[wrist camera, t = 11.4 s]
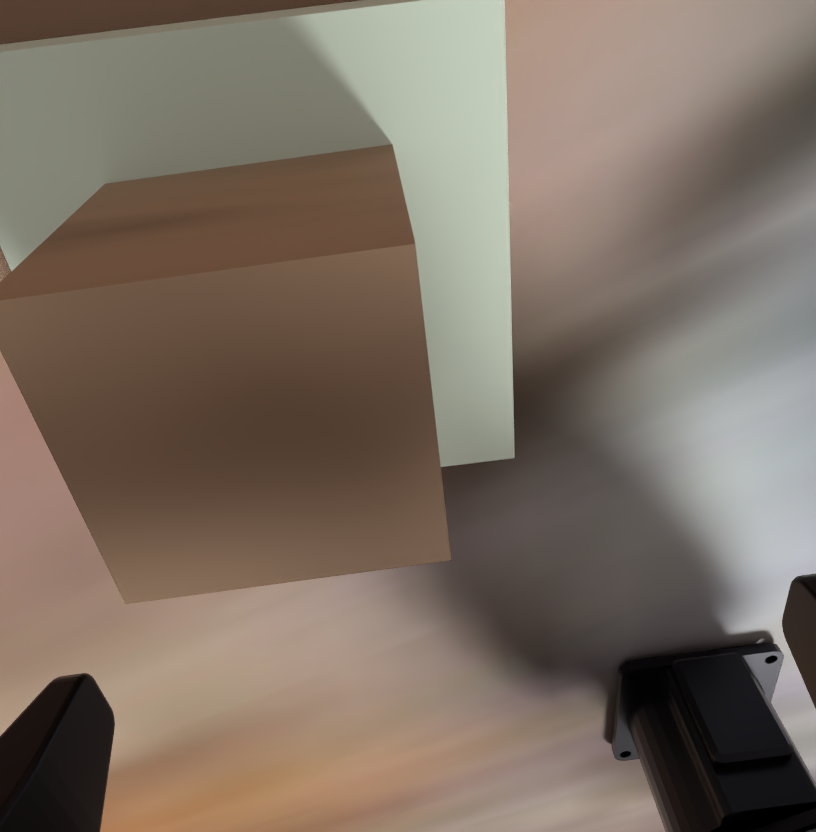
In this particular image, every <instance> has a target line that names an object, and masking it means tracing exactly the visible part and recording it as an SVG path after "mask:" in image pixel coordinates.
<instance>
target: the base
mask: <svg viewBox="0 0 816 832" xmlns="http://www.w3.org/2000/svg"><path fill="white" fill-rule="evenodd" d="M391 144H393V149H394V153H395V157H396V162H397V166H398V170H399V175H400V179H401V183H402V188H403V192H404V197H405V201H406V205H407V210H408V214H409V218H410V223H411V227H412V231H413V236H414V240H415V245H416V254H417V263H418V271H419V280H420V289H421V298H422V307H423V315H424V324H425V333H426V342H427V351H428V360H429V368H430V377H431V386H432V395H433V404H434V412H435V421H436V430H437V439H438V448H439V456H440V465H441V467H446V466H454V465H462V464H470V463H478V462H486V461H494V460H502V459H511V458H515V451H514V406H513V361H512V316H511V270H510V225H509V180H508V135H507V90H506V45H505V0H360V1H352V2H344V3H336V4H327V5H319V6H311V7H303V8H295V9H287V10H278V11H270V12H262V13H254V14H246V15H238V16H229V17H221V18H213V19H205V20H197V21H189V22H180V23H172V24H164V25H156V26H148V27H139V28H131V29H123V30H115V31H107V32H99V33H90V34H82V35H74V36H66V37H58V38H50V39H41V40H33V41H25V42H17V43H9V44H1V45H0V247H1V249H2V251H3V253H4V256H5V258H6V260H7V263H8V265H9V267H10V269H11V272H12V271H13V270H14V269H15V268H16V267H17V266H18V265H19V264H20V263H21V262H22V261H23V260H24V259H25V258H26V257H27V256H29V255H30V254H31V253H32V252H33V251H34V250H35V249H36V248H37V247H38V246H39V245H40V244H41V243H42V242H43V241H45V240H46V239H47V238H48V237H49V236H50V235H51V234H52V233H53V232H54V231H55V230H56V229H57V228H58V227H59V226H61V225H62V224H63V223H64V222H65V221H66V220H67V219H68V218H69V217H70V216H71V215H72V214H73V213H74V212H75V211H76V210H78V209H79V208H80V207H81V206H82V205H83V204H84V203H85V202H86V201H87V200H88V199H89V198H90V197H91V196H92V195H94V194H95V193H96V192H97V191H98V190H99V189H100V188H101V187H102V186H103V185H104V184H107V183H114V182H121V181H129V180H136V179H143V178H150V177H158V176H165V175H172V174H179V173H187V172H194V171H201V170H209V169H216V168H223V167H230V166H238V165H245V164H252V163H259V162H267V161H274V160H281V159H289V158H296V157H303V156H310V155H318V154H325V153H332V152H340V151H347V150H354V149H361V148H369V147H376V146H383V145H391Z"/></svg>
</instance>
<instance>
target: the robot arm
mask: <svg viewBox="0 0 816 832" xmlns="http://www.w3.org/2000/svg"><path fill="white" fill-rule="evenodd" d="M782 627H783V632H784V636H785V638H786V641H787V643H788V646H789V648H790V650H791V653H792V655H793V657H794V660H795V662H796V664H797V666H798V669H799V671H800V673H801V676H802V678H803V680H804V683H805V685H806V687H807V690H808V692H809V694H810V697H811V699H812V701H813V704H814V706H815V708H816V574H809V575H802V576H798V577H796V578H795V579H794V580H793V581H792V583H791V586H790V590H789V594H788V598H787V602H786V606H785V610H784V614H783V619H782ZM783 659H784V655H783V653H782V652H781V650H780V648H779V647H778V646H777V644H774V643H767V644H759V645H751V646H744V647H736V648H728V649H720V650H713V651H705V652H697V653H690V654H682V655H674V656H666V657H659V658H651V659H643V660H636V661H630V662H626V663H624V664H623V665H622V666H620V668H619V670H618V681H617V692H616V703H615V714H614V725H613V737H612V751H613V754H614V757H615V758H616V759H617V760H620V761H626V760H633V759H640V761H641V764H642V767H643V770H644V772H645V775H646V778H647V781H648V783H649V786H650V789H651V792H652V795H653V797H654V800H655V803H656V806H657V809H658V811H659V814H660V817H661V820H662V823H663V825H664V828H665V831H666V832H816V783H815V781H814V779H813V777H812V776H811V774H810V772H809V770H808V768H807V767H806V765H805V763H804V761H803V760H802V758H801V756H800V754H799V752H798V751H797V749H796V747H795V745H794V743H793V742H792V740H791V738H790V736H789V734H788V733H787V731H786V729H785V727H784V726H783V724H782V722H781V720H780V718H779V717H778V715H777V713H776V711H775V709H774V708H773V706H772V704H771V700H772V696H773V693H774V689H775V686H776V683H777V679H778V676H779V672H780V669H781V665H782V662H783ZM114 727H115V721H114V715H113V711H112V709H111V707H110V705H109V703H108V702H107V700H106V698H105V697H104V695H103V693H102V692H101V690H100V688H99V686H98V685H97V683H96V681H95V680H94V678H93V677H92V676H91V675H89V674H87V673H82V674H74V675H67V676H61V677H58V678H56V679H54V680H53V681H52V682H50V683H49V684H48V685H47V686H46V687H45V689H44V690H43V691H42V692H41V693H40V694H39V695H38V696H37V697H36V698H35V699H34V700H33V701H32V703H31V704H30V705H29V706H28V707H27V708H26V709H25V710H24V711H23V712H22V713H21V714H20V716H19V717H18V718H17V719H16V720H15V721H14V722H13V723H12V724H11V725H10V726H9V727H8V728H7V730H6V731H5V732H4V733H3V734H2V735H1V736H0V832H100V828H101V821H102V814H103V807H104V800H105V793H106V785H107V778H108V771H109V764H110V757H111V750H112V743H113V735H114Z"/></svg>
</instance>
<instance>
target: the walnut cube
mask: <svg viewBox="0 0 816 832" xmlns="http://www.w3.org/2000/svg"><path fill="white" fill-rule="evenodd" d="M0 351H1V353H2V355H3V357H4V359H5V361H6V363H7V365H8V367H9V369H10V371H11V373H12V375H13V377H14V379H15V381H16V383H17V385H18V387H19V389H20V391H21V393H22V395H23V397H24V399H25V401H26V403H27V405H28V407H29V409H30V411H31V413H32V415H33V417H34V419H35V422H36V424H37V426H38V428H39V430H40V432H41V434H42V436H43V438H44V440H45V442H46V444H47V446H48V448H49V450H50V452H51V454H52V456H53V458H54V460H55V462H56V464H57V466H58V468H59V470H60V472H61V474H62V476H63V478H64V480H65V482H66V484H67V486H68V488H69V490H70V492H71V494H72V496H73V499H74V501H75V503H76V505H77V507H78V509H79V511H80V513H81V515H82V517H83V519H84V521H85V523H86V525H87V527H88V529H89V531H90V533H91V535H92V537H93V539H94V541H95V543H96V545H97V547H98V549H99V551H100V553H101V555H102V557H103V559H104V561H105V563H106V565H107V567H108V569H109V571H110V573H111V576H112V578H113V580H114V582H115V584H116V586H117V588H118V590H119V592H120V594H121V596H122V598H123V600H124V602H125V604H130V603H137V602H145V601H152V600H160V599H167V598H175V597H182V596H189V595H197V594H204V593H212V592H219V591H227V590H234V589H241V588H249V587H256V586H264V585H271V584H279V583H286V582H293V581H301V580H308V579H316V578H323V577H331V576H338V575H345V574H353V573H360V572H368V571H375V570H383V569H390V568H397V567H405V566H412V565H420V564H427V563H435V562H442V561H449V560H451V553H450V545H449V536H448V527H447V518H446V509H445V501H444V492H443V483H442V474H441V465H440V456H439V448H438V439H437V430H436V421H435V412H434V404H433V395H432V386H431V377H430V368H429V360H428V351H427V342H426V333H425V324H424V315H423V307H422V298H421V289H420V280H419V271H418V263H417V254H416V245H415V240H414V236H413V231H412V227H411V223H410V218H409V214H408V210H407V205H406V201H405V197H404V192H403V188H402V183H401V179H400V175H399V170H398V166H397V162H396V157H395V153H394V149H393V144H391V145H383V146H376V147H369V148H361V149H354V150H347V151H340V152H332V153H325V154H318V155H310V156H303V157H296V158H289V159H281V160H274V161H267V162H259V163H252V164H245V165H238V166H230V167H223V168H216V169H209V170H201V171H194V172H187V173H179V174H172V175H165V176H158V177H150V178H143V179H136V180H129V181H121V182H114V183H107V184H104V185H103V186H102V187H101V188H100V189H99V190H98V191H97V192H96V193H95V194H94V195H92V196H91V197H90V198H89V199H88V200H87V201H86V202H85V203H84V204H83V205H82V206H81V207H80V208H79V209H78V210H76V211H75V212H74V213H73V214H72V215H71V216H70V217H69V218H68V219H67V220H66V221H65V222H64V223H63V224H62V225H61V226H59V227H58V228H57V229H56V230H55V231H54V232H53V233H52V234H51V235H50V236H49V237H48V238H47V239H46V240H45V241H43V242H42V243H41V244H40V245H39V246H38V247H37V248H36V249H35V250H34V251H33V252H32V253H31V254H30V255H29V256H27V257H26V258H25V259H24V260H23V261H22V262H21V263H20V264H19V265H18V266H17V267H16V268H15V269H14V270H13V271H12V272H10V273H9V274H8V275H7V276H6V277H5V278H4V279H3V280H2V281H1V282H0Z"/></svg>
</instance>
